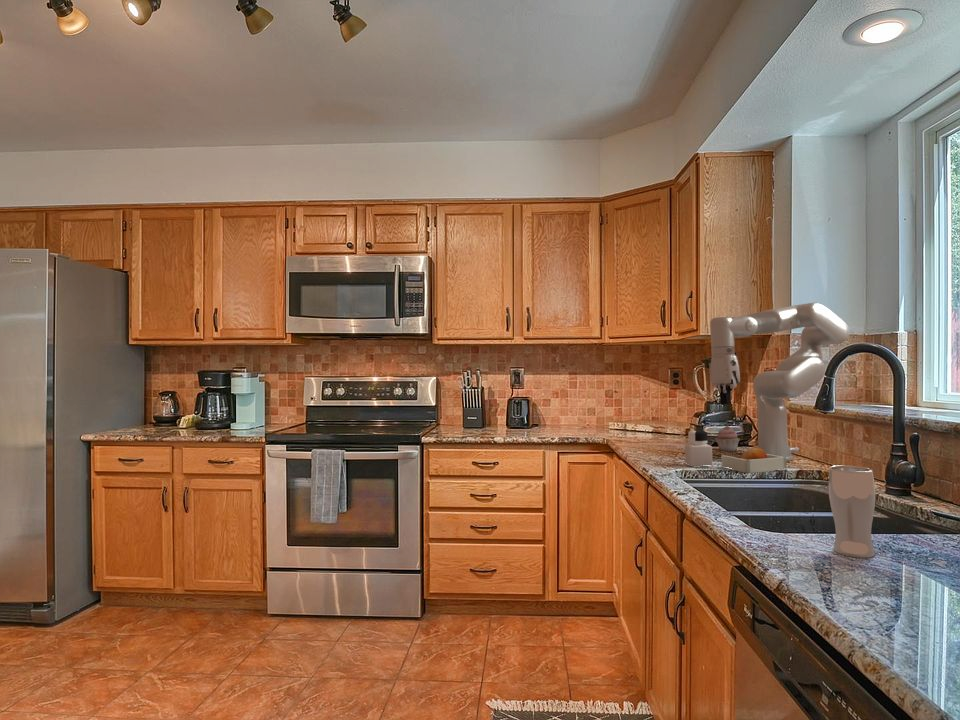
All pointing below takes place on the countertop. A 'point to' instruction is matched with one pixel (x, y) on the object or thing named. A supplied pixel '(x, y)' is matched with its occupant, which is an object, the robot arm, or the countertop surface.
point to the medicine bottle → (698, 449)
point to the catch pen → (754, 463)
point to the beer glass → (852, 509)
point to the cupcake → (727, 439)
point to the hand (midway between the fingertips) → (725, 404)
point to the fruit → (754, 454)
